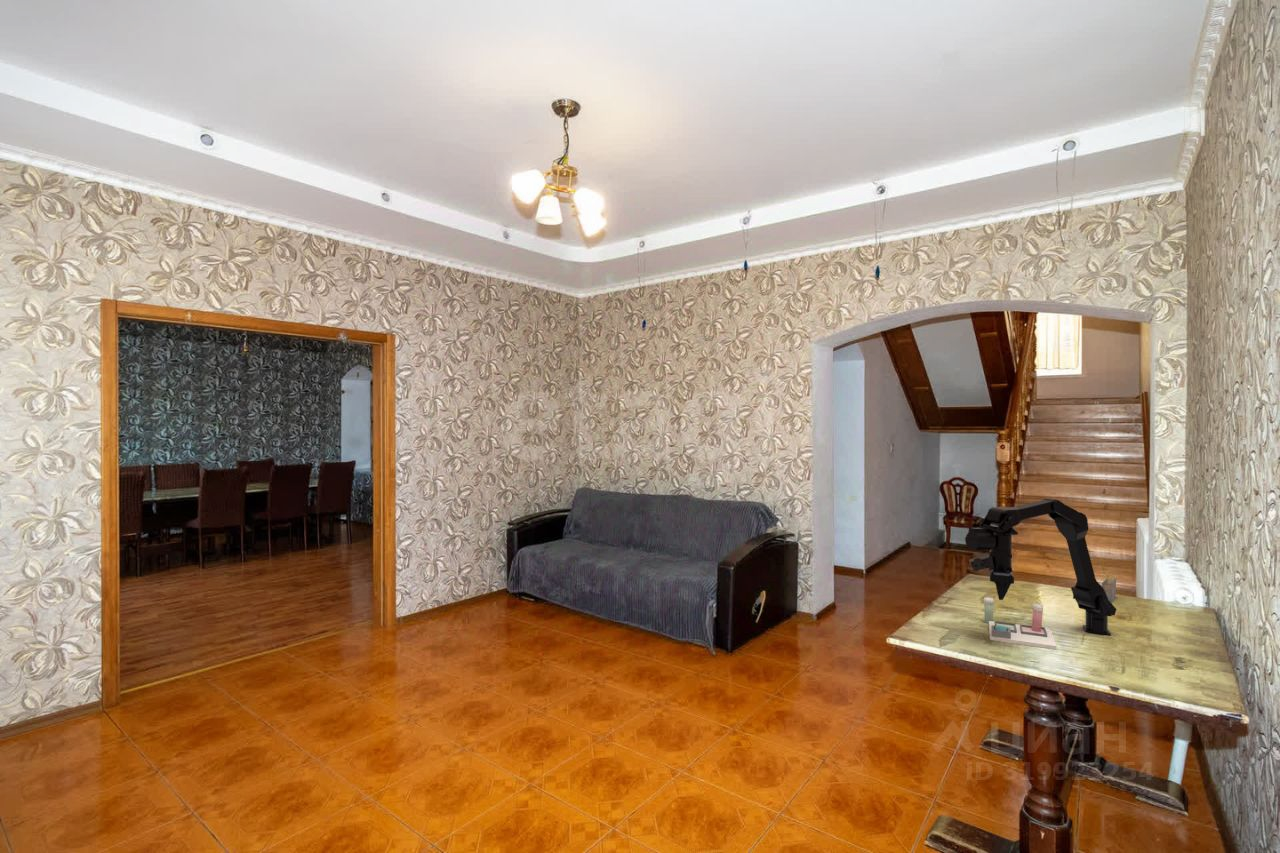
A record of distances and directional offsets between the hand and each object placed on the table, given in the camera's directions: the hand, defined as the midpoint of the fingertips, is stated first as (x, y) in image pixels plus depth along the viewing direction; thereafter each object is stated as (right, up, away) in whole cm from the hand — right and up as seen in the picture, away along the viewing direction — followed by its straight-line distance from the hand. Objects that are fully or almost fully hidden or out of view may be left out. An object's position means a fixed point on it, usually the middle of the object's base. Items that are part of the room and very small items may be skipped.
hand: (1000, 599), depth 190 cm
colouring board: (+7, -12, +2) cm, 14 cm away
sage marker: (+5, -12, +15) cm, 20 cm away
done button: (0, -11, 0) cm, 11 cm away
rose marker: (+13, -11, +4) cm, 18 cm away
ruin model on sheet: (+65, -12, +41) cm, 78 cm away
